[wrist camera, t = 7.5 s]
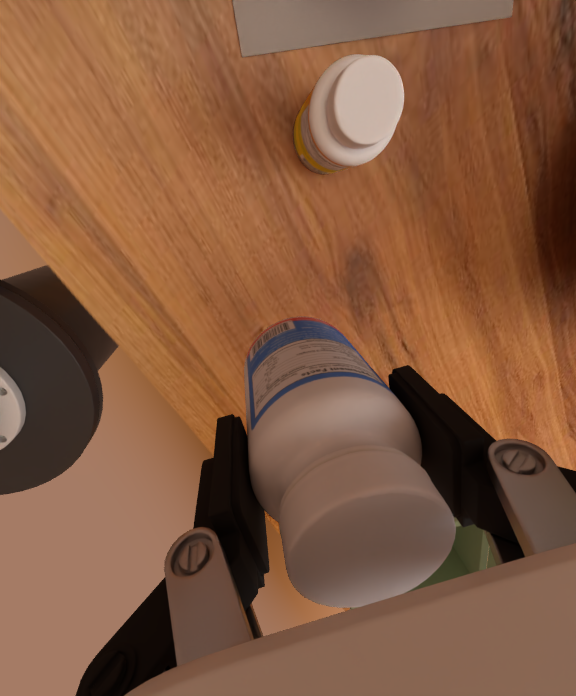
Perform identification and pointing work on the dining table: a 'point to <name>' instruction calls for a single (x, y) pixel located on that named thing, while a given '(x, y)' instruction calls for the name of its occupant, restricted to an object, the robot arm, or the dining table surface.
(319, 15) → the architectural model
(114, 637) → the robot arm
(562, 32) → the dining table surface
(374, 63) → the supplement bottle
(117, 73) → the dining table surface
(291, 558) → the pill bottle
